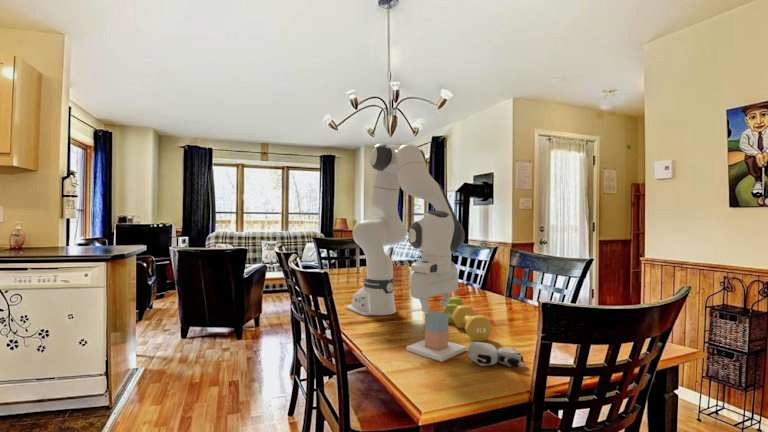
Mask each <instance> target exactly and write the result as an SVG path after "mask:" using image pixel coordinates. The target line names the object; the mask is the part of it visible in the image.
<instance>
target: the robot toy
mask: <svg viewBox="0 0 768 432" xmlns="http://www.w3.org/2000/svg"><path fill="white" fill-rule="evenodd" d="M469 342H470V344H469V345H468V347H467V356H468V357H469V358H470V360H471V361H472V362H474V363H476V364H478V366H480V367H486V366H492V365H493V366H494V365H495V364H497V363H500V364H501V365H504V366H507V367H515V368H518V367H520V368H524V367H526V364H525V362H523V361H524V357H523V355H522V354H521V352H520V351H519V350H516V349H514V348H510V347H499V348H498V349H497V348H496V347H495V345H494V344H491V343H487V342H483V341H482V342H474V341H472V340H469Z"/></svg>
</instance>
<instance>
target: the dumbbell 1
mask: <svg viewBox="0 0 768 432" xmlns="http://www.w3.org/2000/svg"><path fill="white" fill-rule="evenodd" d="M460 305H465V303H464V301H463V299H462V298H460V297H453V296H452V297H451V296H450V297H449V300H448V306H446V307H443V310H442V312H443V313H447V314H448V324H453V325H456V324H455V323H454V321H453V319H452V314H453V312H454V310H455V309H456V307H457V306H460Z"/></svg>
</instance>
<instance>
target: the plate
mask: <svg viewBox="0 0 768 432" xmlns="http://www.w3.org/2000/svg"><path fill="white" fill-rule="evenodd" d="M405 349H406V351H408V352H409V353H414V354H416V355H419V356H423V357H426V358H429V359H432V360H435V361H438V362H442V363H443V362H445V361H446V360H449V359H450V358H453V357H455V356H457V355H459V354H462V353H463V352H465V351H467V346H466V345H462V344H459V343H455V342H451V341H448V346H447V347H445V348H443V349H440V350H436V349H432V348H429V347H426V346H425V339H422V340H421V341H417V342H415V343H412V344H410V345H407V346H406V347H405Z"/></svg>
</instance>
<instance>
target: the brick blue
mask: <svg viewBox="0 0 768 432" xmlns="http://www.w3.org/2000/svg"><path fill="white" fill-rule="evenodd" d="M424 315H425V316H424V326H425V327H424V331H425V330H427V331H431V332H435V333H438V334H439V333H441V332H444V331H447V330H448V331H449V323H448V314H447V313H443V311H437V310H433V311H429V312H425V314H424Z"/></svg>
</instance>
